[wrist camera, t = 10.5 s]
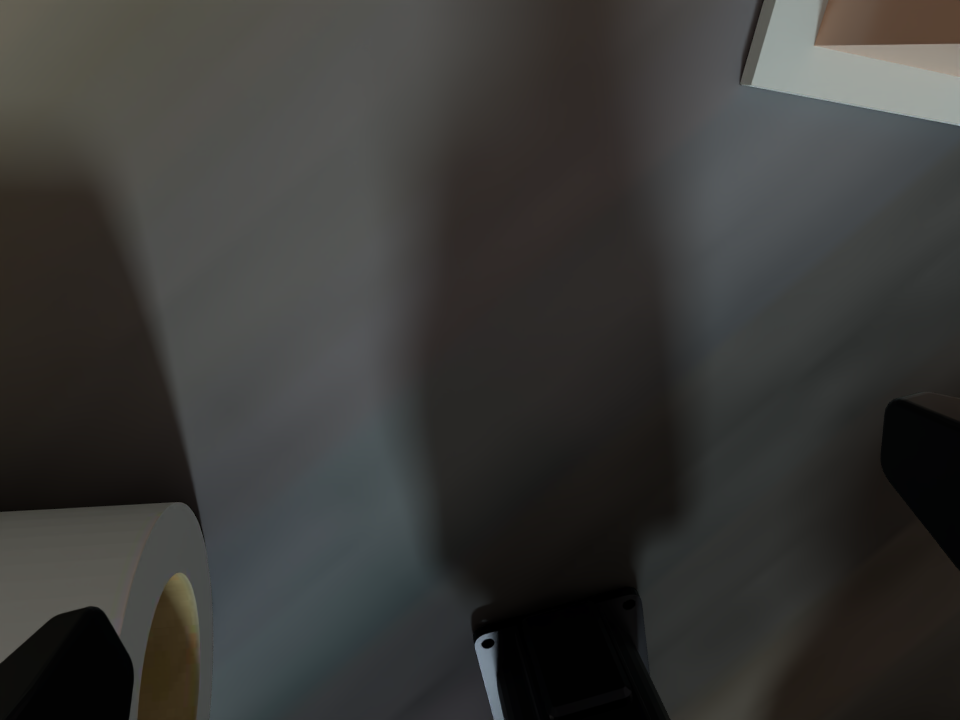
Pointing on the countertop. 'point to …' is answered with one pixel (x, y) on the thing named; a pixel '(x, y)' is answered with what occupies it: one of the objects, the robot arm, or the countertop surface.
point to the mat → (840, 68)
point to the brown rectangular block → (896, 31)
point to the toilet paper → (118, 592)
